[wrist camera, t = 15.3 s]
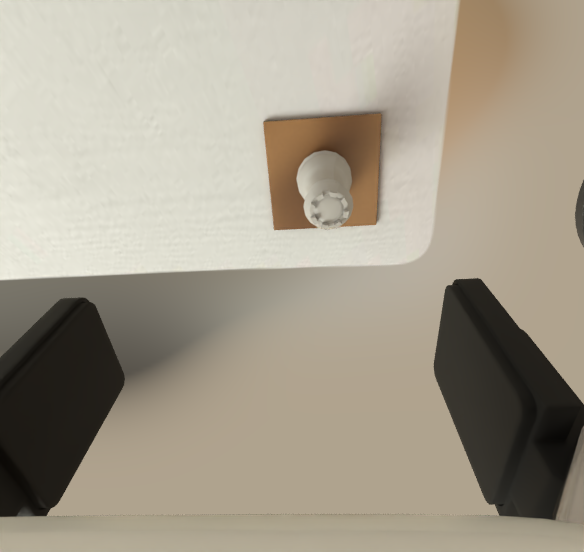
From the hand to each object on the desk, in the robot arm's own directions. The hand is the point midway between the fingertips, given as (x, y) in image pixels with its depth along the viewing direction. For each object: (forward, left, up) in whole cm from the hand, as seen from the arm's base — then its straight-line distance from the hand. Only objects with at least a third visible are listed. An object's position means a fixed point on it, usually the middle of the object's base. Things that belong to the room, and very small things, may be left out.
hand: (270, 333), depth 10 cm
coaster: (-2, +2, -23) cm, 23 cm away
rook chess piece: (-2, +2, -23) cm, 23 cm away
